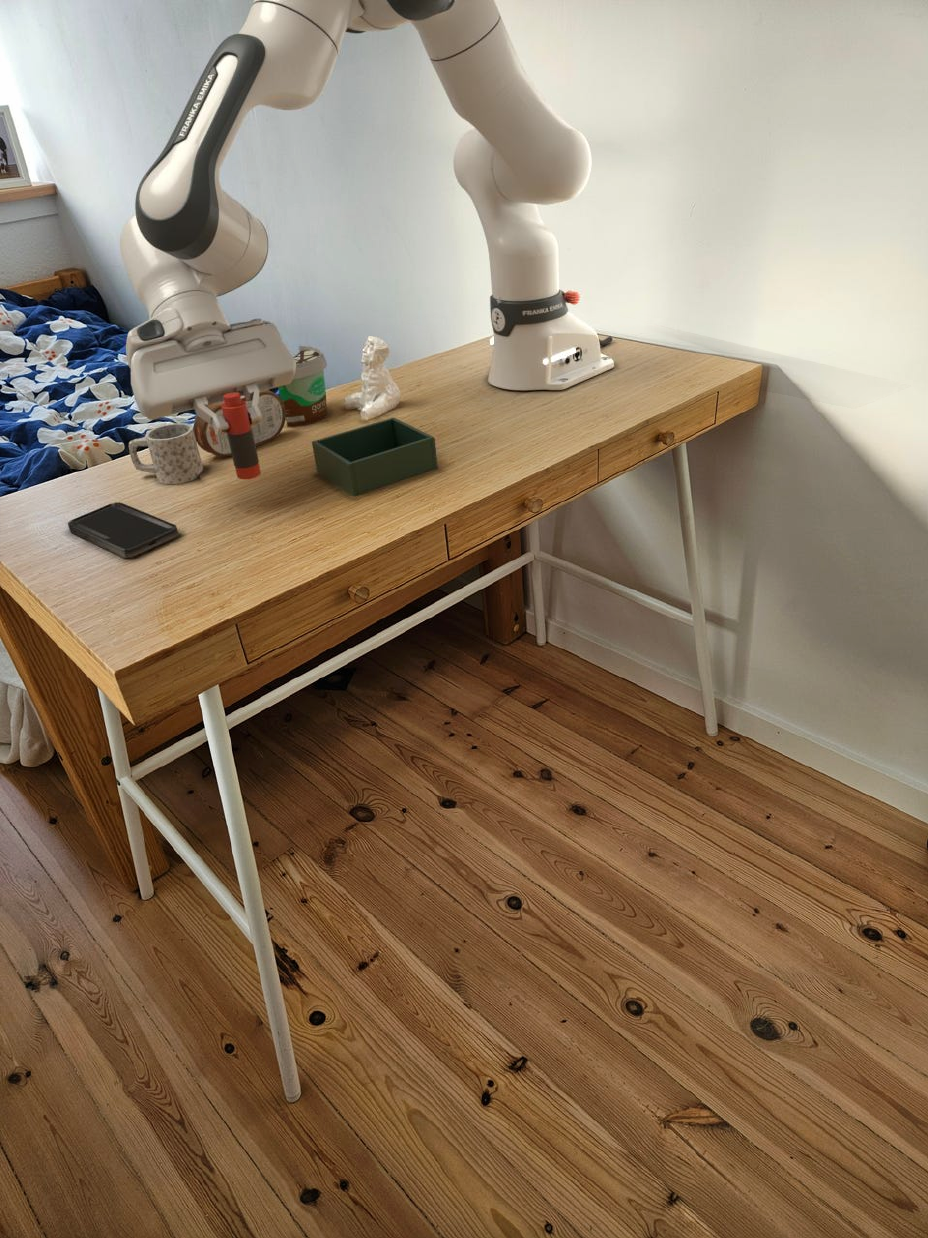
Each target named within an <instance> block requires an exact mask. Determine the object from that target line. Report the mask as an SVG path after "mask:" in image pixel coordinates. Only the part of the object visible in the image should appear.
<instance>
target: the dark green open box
mask: <svg viewBox="0 0 928 1238" xmlns="http://www.w3.org/2000/svg"><path fill="white" fill-rule="evenodd" d="M311 446H312V451H313V456H314V463H315V468H316V472H317V473H318V474H319V475H320V476H322V477H323V478H325V479H327V480H328V481H329V482H330V483H333V484H334V485H336V486H338V488H340V489H341V490H343V491H344V492H346V493H348V494H349V495H350V496H352V497H358V496H360V495H363V494H366V493H369V492H372V491H376V490H379V489H380V488H381V489H382V488H384V487H386V486H390V485H392V484H393V485H394V484H395V483H398V482H402V481H404V480H405V481H406V480H408V479H410V478H413V477H416V476H420V475H423V474H426V473H428V472H431V471H434V470H437V469H439V468H438V458H437V449H436V448H437V447H436V439H435V436H432V435H431V434H428V432H427V433H426V432H424V431H423V430H421V429H418V428H416V427H414V426H412V425H410V424H408V423H407V422H405V421H402V420H400V419H398V418H396V417H394V416H393V417H390V418H387V419H383V420H380V421H377V422H373V423H370V424H366V425H363V426H360V427H356V428H354V429H353V428H352V429H349V430H347V431H343V432H340V433H337V434H336V433H335V434H333V435H330V436H326V437H323V438H320V439H317V440H312V441H311Z"/></svg>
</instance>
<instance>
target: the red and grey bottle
mask: <svg viewBox="0 0 928 1238" xmlns="http://www.w3.org/2000/svg"><path fill="white" fill-rule="evenodd" d="M223 398H224V402H225V403H224V404H223V405H222V406H221V408H222V412H223V414H224V416H225V418H226V421H227V422H228V424H229V432H227V436H228V440H229V445H230V449H231V453H232V455H231V457H232V461H233V466H234V469H235V473H236V477H237V478H238V479H240V480H252V479H254V478H257V477H259V476H260V475H261V473H262V472H261V467H260V463H259V462H260V460H259V455H258V450H257V446H255V441H254V436H253V432H252V428H251V424H250V420H249V415H248V410H247V406H246V402H245V401H241V397H240V393H237V392H232V393H227V394H225V395H224V396H223Z"/></svg>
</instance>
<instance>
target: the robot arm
mask: <svg viewBox="0 0 928 1238" xmlns="http://www.w3.org/2000/svg"><path fill="white" fill-rule="evenodd" d="M408 23H410V24H412V26H413V27H414V28H415V29H416V30H417V32H418V36H419V38H420V40H421V43H422V45H423V47H424V50H425V52H426V54H427V56H428V59H429V61H430V63H431V64H432V67H433V70H434V72H435V73H436V75H437V78H438V79H439V82H440V84H441V86H442V88H443V90H444V92H445V94H446V96H447V98H448V100H449V103H450V105H451V107H452V109H453V110H454V112H455V113H456V114H457V115H458V116H459V117H461V118H462V119H463V120H465V121H466V122H468V123H469V125H471V126H473V128H472V129H470V130H468V131H466V132H465V133H464V134H463V135H462V136H461V137H460V138H459V140H458V141H457V144H456V145H455V148H454V154H453V160H452V161H453V165H452V166H453V172H454V176H455V178H456V180H457V182H458V184H459V186H460V187H461V188H462V189H463V190H464V191H465V192H466V194H467V195H468V196H469V198H470V200H471V201H472V203H473V206H474V208H475V210H476V213H477V216H478V218H479V221H480V224H481V226H482V230H483V233H484V237H485V240H486V245H487V250H488V258H489V267H490V271H489V272H490V281H491V295H490V296H489V310H490V321H491V322H490V323H491V326H492V332H493V333H492V335H493V336H492V337H491V338H490V340H489V341H490V345H492V352H491V353H492V354H491V361H490V368H489V373H488V378H487V381H488V383H489V384H490V385H491V386H493V387H496V388H499V389H504V390H510V391H538V390H539V391H541V390H542V391H543V390H547V391H563V390H566V389H569V388H571V387H573V386H575V385H577V384H579V383H581V382H584V381H586V380H588V379H591V378H593V377H595V376H597V375H601V374H602V373H605V372H607V371H610V370H611V369H613V368H615V361H614V360H613V359H612V357H610V356H607V355H606V354H603V353H602V352H601V347H603V346H607V345H608V344H610V343H611V342H612V341H613V336H608V337H606V338H605V339H600V338H599V336H598V334H597V332H596V331H595V329H594V328H593V327H591V326H590V325H588V323H585V322H584V321H583V320H581V319H580V318H578V317H577V316H575V315H574V314H573V313H571V312H570V311H569V307H568V305H567V304H571V305H575V306H576V305H577V304H578V303H579V301H580V300H581V299H580V298H581V295H580V294H579V292H578V291H572V290H567V291H566V292H565V291H563V290H562V289H560V275H559V274H560V273H559V272H560V271H559V270H560V269H559V245H558V240H557V238H556V237H555V235H554V234H553V233H552V231H551V230H550V229H549V228H548V226H547V225H546V224H545V222H544V220H543V219H542V217H541V215H540V212H539V209H538V205H540V206H549V205H554V204H558V203H563V202H567V201H570V200H572V199H575V198H577V197H578V196H579V195H580V193H582V191H583V190H584V188H585V187H586V185H587V184H588V181H589V177H590V175H591V170H592V152H591V149H590V145H589V142H588V140H587V138H586V137H585V135H584V134H583V133H582V132H581V131H580V130H578V129H576V128H575V127H573V126H572V125H570V124H569V123H568V122H567V121H565V120H564V119H563V118H561V116H560V115H559V114H557V112H556V111H555V110H554V109H553V108H552V107H551V105H550V104H549V103H548V102H547V100H546V99H545V98H544V97H543V95H542V94H541V92H540V91H539V90H538V89H537V87H536V86H535V84H534V82H532V81H531V79H530V77H529V75H528V74H527V72H526V71H525V69H524V66H523V65H522V62H521V61H520V58H519V56H518V54H517V51H516V49H515V46H514V45H513V43H512V40H511V37H510V35H509V33H508V31H507V28H506V26H505V24H504V22H503V18H502V16H501V14H500V11H499V9H498V6H497V4H496V1H495V0H253V1H252V4H251V7H250V10H249V13H248V15H247V17H246V20H245V22H244V23H243V26H242V27H241V29H240V30H239V32H238V33H234V34H231V35H229V36H228V37H226V38H224V39H223V41H222V42H221V43H219V45H218V46H217V48H216V49H215V50H214V52H213V54H211V57H210V59H209V60H208V62H207V63H206V65H205V67H204V69H203V71H202V73H201V75H200V77H199V79H198V81H197V83H196V85H195V87H194V88H193V90H192V93H191V95H190V96H189V99H188V101H187V103H186V105H185V107H184V109H183V111H182V113H181V115H180V116H179V119H178V121H177V123H176V125H175V127H174V129H173V131H172V133H171V135H170V137H169V139H168V141H167V143H166V144H165V146H164V148H163V150H162V151H161V153H160V154H159V156H158V157H157V158H156V160H155V161H154V162H153V163H152V165H151V166H149V169H148V170H147V171H146V172H145V174H144V176H143V177H142V178H141V180H140V182H139V184H138V187H137V190H136V193H135V203H134V209H135V210H134V211H135V214H134V215H132V216H131V217H130V218H129V219H128V220H127V221H126V222H125V224H124V225H123V227H122V229H121V233H120V237H119V248H120V254H121V259H122V262H123V266H124V268H125V271H126V274H127V276H128V278H129V280H130V283H131V285H132V287H133V289H134V292H135V294H136V296H137V298H138V300H139V302H141V303H142V305H143V306H144V307H145V308H146V310H147V312H148V320H146V321H144V322H143V323H141V324H139V325H137V326H135V327H134V328H132V329H130V330H129V331H128V333H127V335H126V336H127V337H126V342H125V343H126V344H125V355H126V356H125V357H126V361H127V364H128V368H129V369H130V386H131V390H132V393H133V398H134V400H135V402H136V406H137V408H138V410H139V412H140V414H141V416H143V417H144V418H147V419H149V420H151V421H154V420H157V419H161V418H164V417H168V416H172V415H177V414H180V413H184V412H188V411H191V410H194V412H195V415H197V416H199V417H200V418H201V419H203V420H204V421H206V422H207V423H209V424H211V425H212V427H213V429H214V431H215V433H216V435H220V434H224V433H227V432H229V424H228V422H227V421H226V418H225V416H224V414H223V415H219V416H217V415H216V414H215V413H214V412H212V411H211V410H210V409H209V408H208V405H211V404H215V403H218V402H222V401H224V398H223V396H224V395H225V394H227V393H232V392H237V393H240V397H241V396H245V398H246V400H247V401H248V402H249V401H251V400H252V404H251V407H249V408H247V410H248V415H249V420H250V424H251V426H252V425H256V424H260V423H262V419H263V418H262V414H261V412H260V410H259V408H258V400H259V392H260V391H264V390H272V389H276V388H278V387H279V386H283V385H287V384H290V383H291V382H292V379H293V377H294V375H295V371H296V362H295V360H294V358H293V357H294V356H293V354H292V353H291V351H290V349H289V347H288V346H287V345H286V343H285V342H284V341H283V339H282V335H281V333H280V331H279V329H278V327H277V326H276V324H274V323H273V322H271V321H269V320H263V319H262V318H253V319H250V320H248V321H241V322H235V323H231V324H230V323H229V321H228V319H227V317H226V315H225V313H224V310H223V308H222V307H221V304H220V303H219V300H218V299H217V297H222V296H225V295H227V294H228V293H230V292H233V291H235V290H237V289H239V288H240V287H242V286H244V285H246V284H247V283H249V282H251V281H252V280H253V279H254V278H255V277H257V276H258V275H259V273H260V272H261V271H262V269H263V268H264V266H265V264H266V262H267V258H268V254H269V236H268V233H267V230H266V228H265V226H264V225H263V223H262V222H261V220H260V219H259V218H257V217H256V216H255V215H254V214H253V213H252V212H250V211H249V210H248V209H247V208H246V207H244V205H243V204H242V203H240V202H239V201H238V200H237V199H235V198H233V197H232V196H231V195H230V194H228V193H227V192H226V191H225V190H223V188H222V186H221V182H220V170H221V167H222V165H223V164H224V161H225V159H226V157H227V155H228V153H229V150H230V148H231V146H232V144H233V143H234V140H235V138H236V136H237V134H238V132H239V130H240V128H241V126H242V124H243V122H244V120H245V118H246V116H247V115H248V113H249V112H250V111H252V110H253V109H254V108H255V107H257V106H265V107H269V108H272V109H276V110H281V111H296V110H301V109H304V108H307V107H309V106H310V105H312V104H314V103H316V102H317V101H318V99H319V98H320V96H322V93H323V92H324V90H325V88H326V87H327V85H328V83H329V81H330V79H331V76H332V74H333V70H334V67H335V64H336V61H337V59H338V56H339V53H340V50H341V46H342V43H343V40H344V37H345V34H346V33H348V34H356V35H357V34H358V35H359V34H363V33H366V32H382V31H389V30H393V29H395V28H396V29H397V27H399V26H403V25H406V24H408Z"/></svg>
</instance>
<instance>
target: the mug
mask: <svg viewBox="0 0 928 1238" xmlns="http://www.w3.org/2000/svg"><path fill="white" fill-rule="evenodd" d="M138 447H148V452H149V454H150V459H151V461H152V463H150V464H144V463H142V462H141V460H140V459H139V458H140V457H139V455H138V451H137V450H138V449H137V448H138ZM128 450H129V456H130V459H131V462H132V464H133V467H134V468H135V470H137V471H140V472H145V473H150V474H155V475H156V479H157V481H158V483H161V484H164V485H179V484H180V485H181V484H185V483H188V482H192V481H194V480H196V479H198V478H200V475H199V474H201V473H202V472H203V470H204V466H203V461H202V458H201V453H200V450H199V445H198V443H197V441H196V438H195V434H194V426H193V425H192V424H189V423H185V422H177V423H168V424H164V425H160V426H159V425H158V426H156V427H154V428H152V429H150V430H149V431H147V432H146V433H145V436H143V437H139V438H134V439H132V440H130V441H129V442H128Z"/></svg>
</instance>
